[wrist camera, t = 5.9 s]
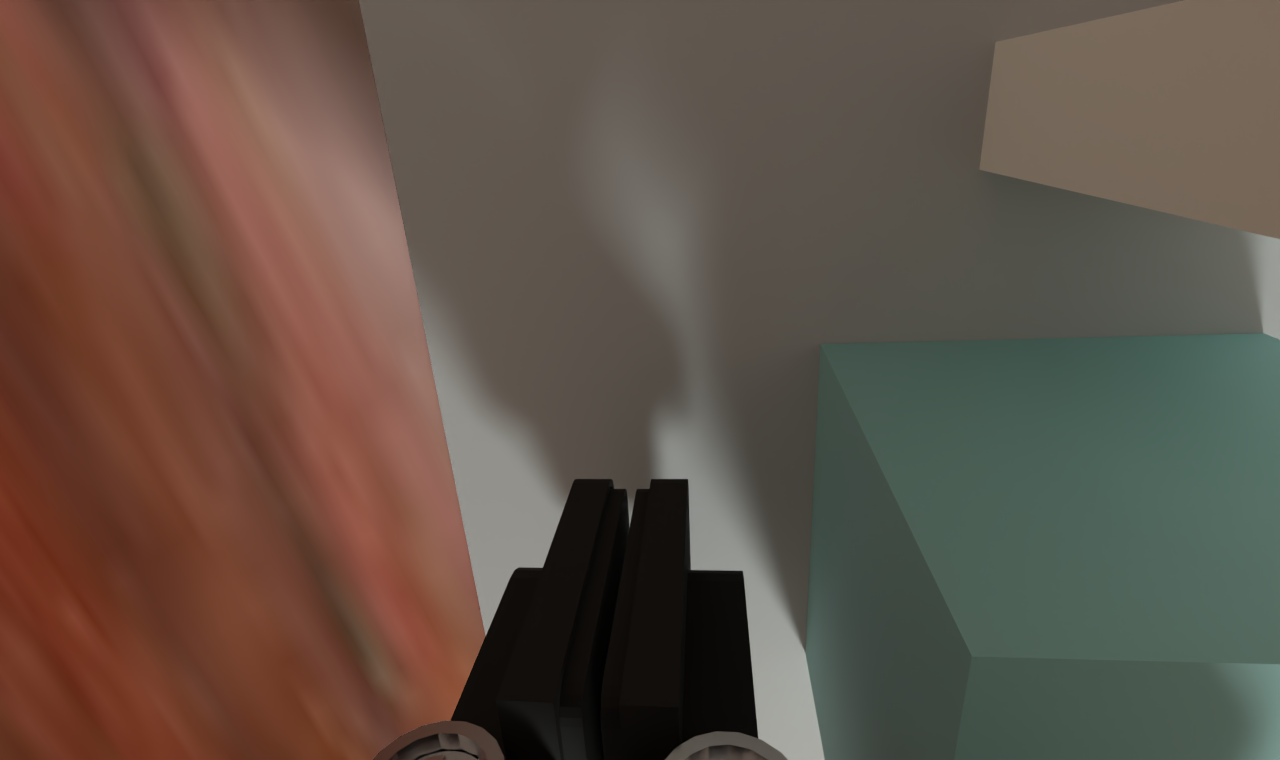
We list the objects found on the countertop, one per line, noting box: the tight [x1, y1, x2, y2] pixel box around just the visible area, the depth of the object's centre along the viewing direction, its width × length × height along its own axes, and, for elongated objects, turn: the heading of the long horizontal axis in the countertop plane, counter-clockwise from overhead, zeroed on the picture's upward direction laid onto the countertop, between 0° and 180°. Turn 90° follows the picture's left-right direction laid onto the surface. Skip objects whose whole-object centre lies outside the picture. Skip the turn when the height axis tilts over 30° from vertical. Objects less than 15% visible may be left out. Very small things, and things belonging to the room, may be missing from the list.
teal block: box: [805, 333, 1280, 760], centre depth 8 cm, size 6×6×6 cm
